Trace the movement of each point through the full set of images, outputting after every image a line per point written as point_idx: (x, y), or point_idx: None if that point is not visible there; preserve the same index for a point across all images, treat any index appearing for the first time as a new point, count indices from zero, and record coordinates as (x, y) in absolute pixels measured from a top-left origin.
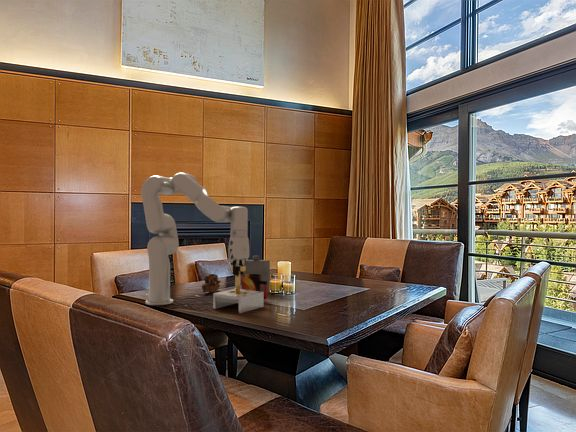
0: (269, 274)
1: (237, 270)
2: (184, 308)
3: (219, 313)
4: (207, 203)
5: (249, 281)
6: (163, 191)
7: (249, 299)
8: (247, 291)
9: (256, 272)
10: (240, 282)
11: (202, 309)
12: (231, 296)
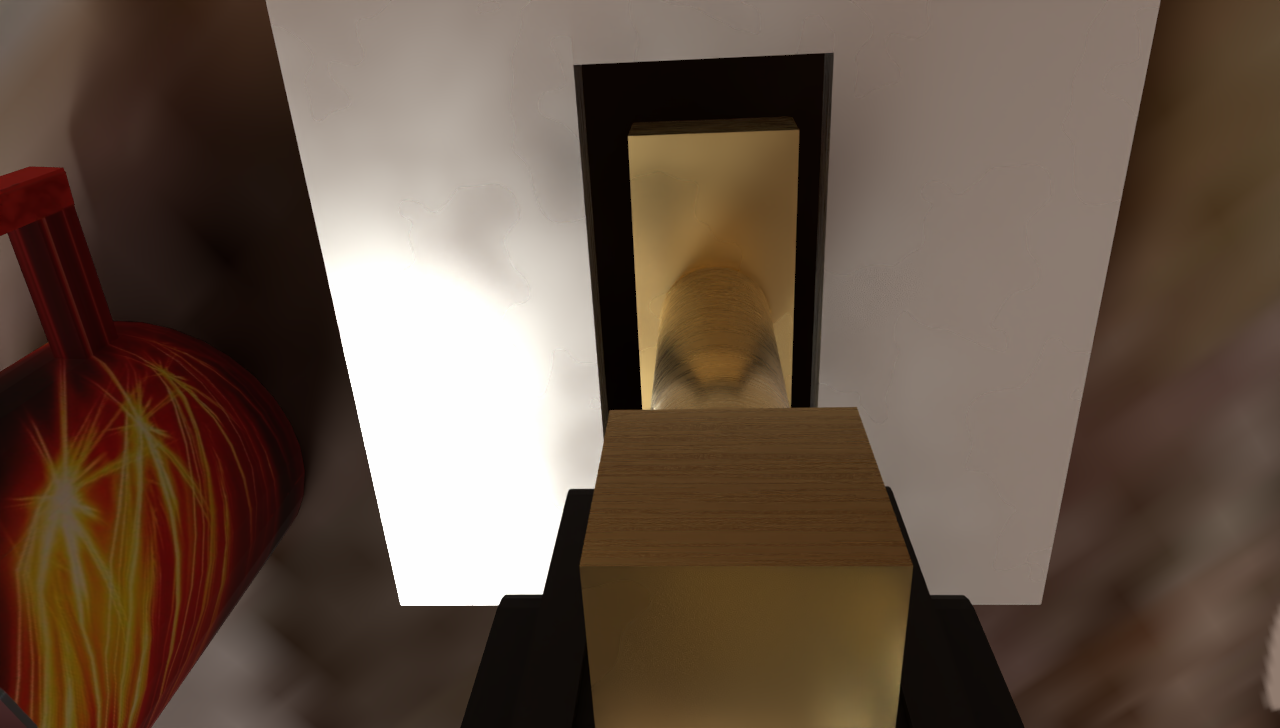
0: None
1: (926, 629)
2: (1136, 699)
3: (1213, 166)
4: None
5: (69, 595)
6: None
7: None
8: (478, 260)
9: None
10: (683, 384)
11: (1084, 519)
12: (1123, 161)
